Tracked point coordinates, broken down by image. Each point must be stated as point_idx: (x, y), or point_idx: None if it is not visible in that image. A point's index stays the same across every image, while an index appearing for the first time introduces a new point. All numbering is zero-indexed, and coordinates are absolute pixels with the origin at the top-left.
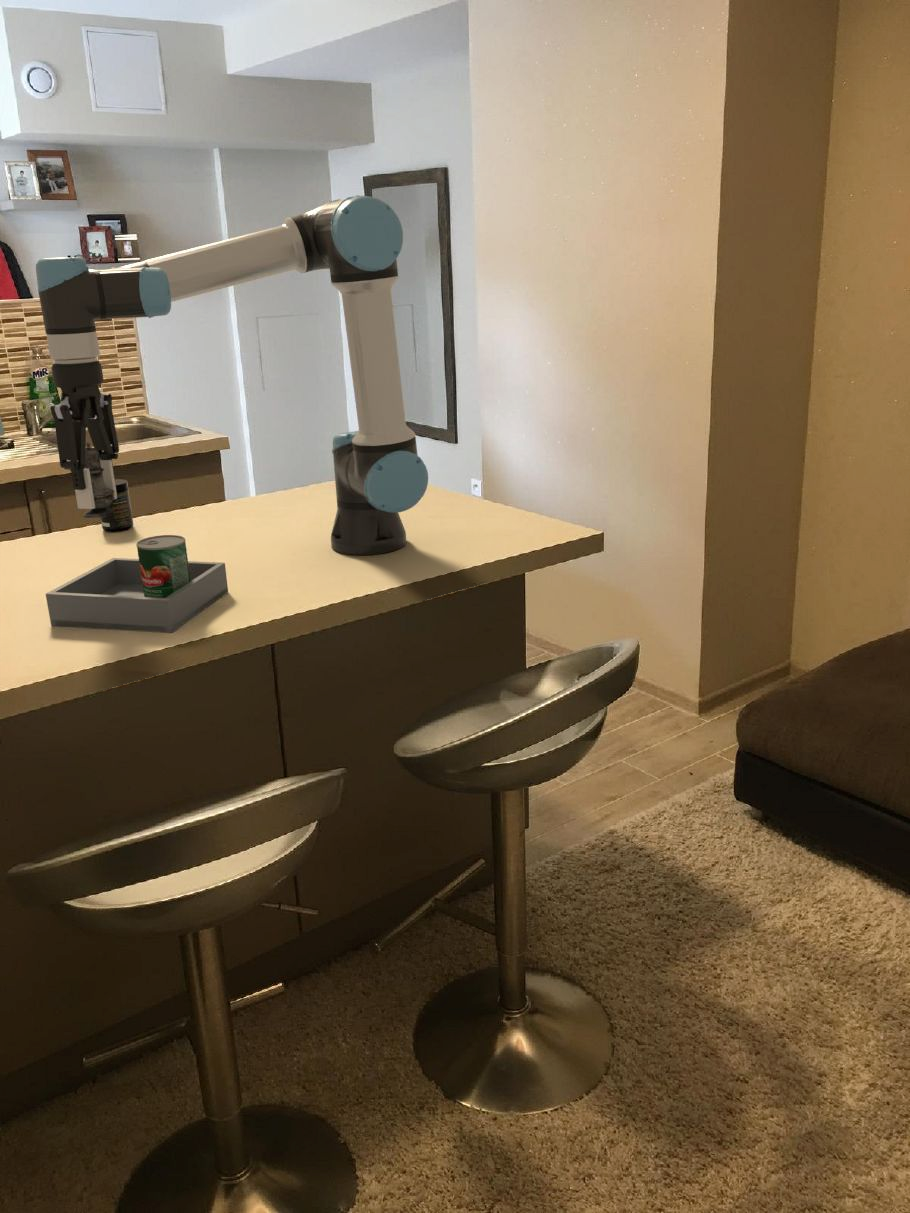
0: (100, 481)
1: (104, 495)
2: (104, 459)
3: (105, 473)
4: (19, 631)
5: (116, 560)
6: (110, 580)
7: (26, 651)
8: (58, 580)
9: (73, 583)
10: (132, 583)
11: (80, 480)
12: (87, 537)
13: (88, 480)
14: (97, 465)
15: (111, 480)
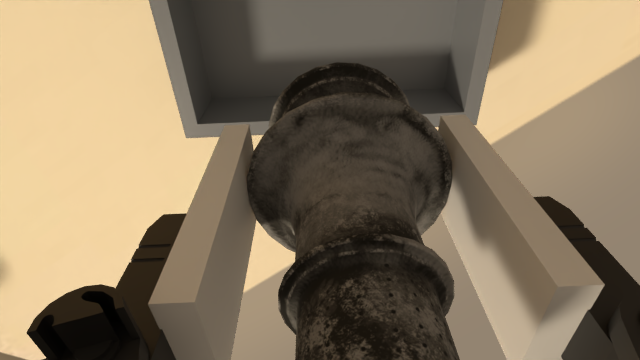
0: (375, 192)
1: (407, 108)
2: (170, 354)
3: (227, 253)
4: (481, 133)
5: (197, 119)
6: (238, 104)
7: (598, 50)
8: None
9: None
10: (204, 62)
11: (596, 242)
12: (2, 316)
13: (541, 212)
14: (400, 293)
15: (232, 187)
